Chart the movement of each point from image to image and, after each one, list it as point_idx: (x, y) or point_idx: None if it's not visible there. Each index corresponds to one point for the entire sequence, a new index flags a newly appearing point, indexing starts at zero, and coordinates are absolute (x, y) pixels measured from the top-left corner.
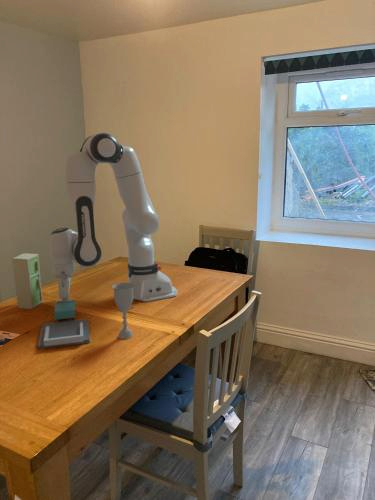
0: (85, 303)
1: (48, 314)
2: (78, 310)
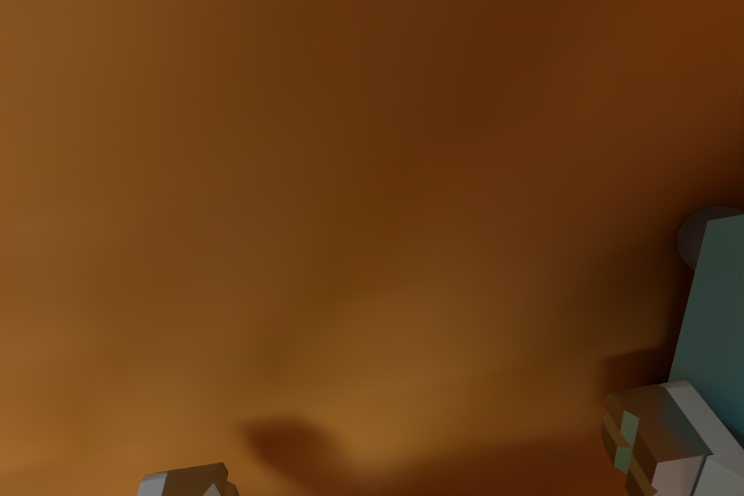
0: (290, 44)
1: None
2: (686, 133)
